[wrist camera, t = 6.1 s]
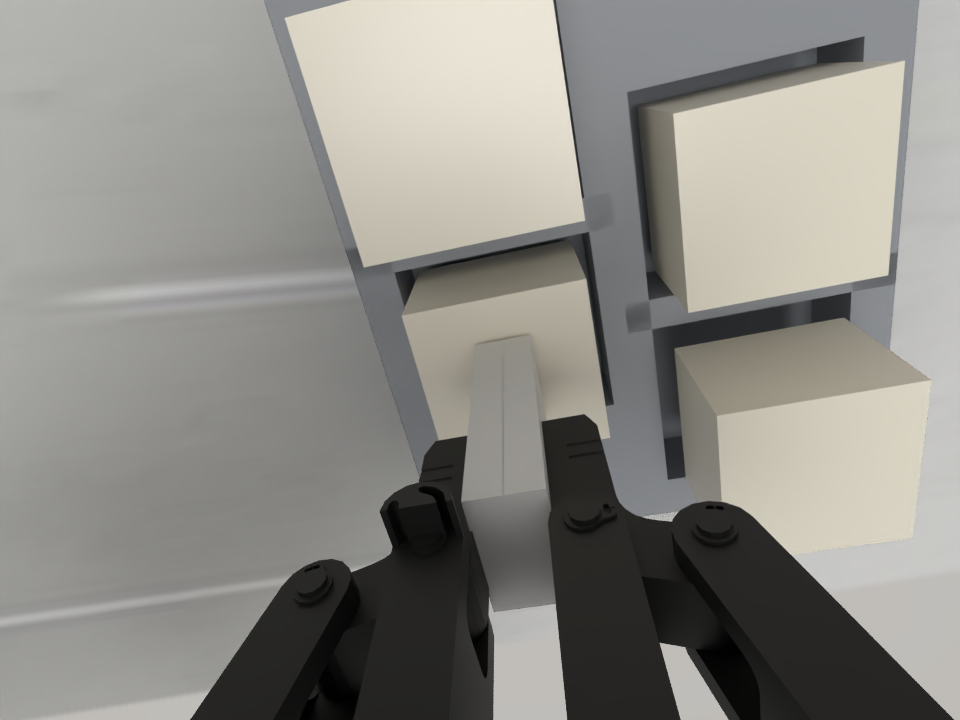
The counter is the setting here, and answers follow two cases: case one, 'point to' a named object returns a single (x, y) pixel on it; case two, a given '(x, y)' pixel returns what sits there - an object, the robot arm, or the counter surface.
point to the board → (642, 206)
